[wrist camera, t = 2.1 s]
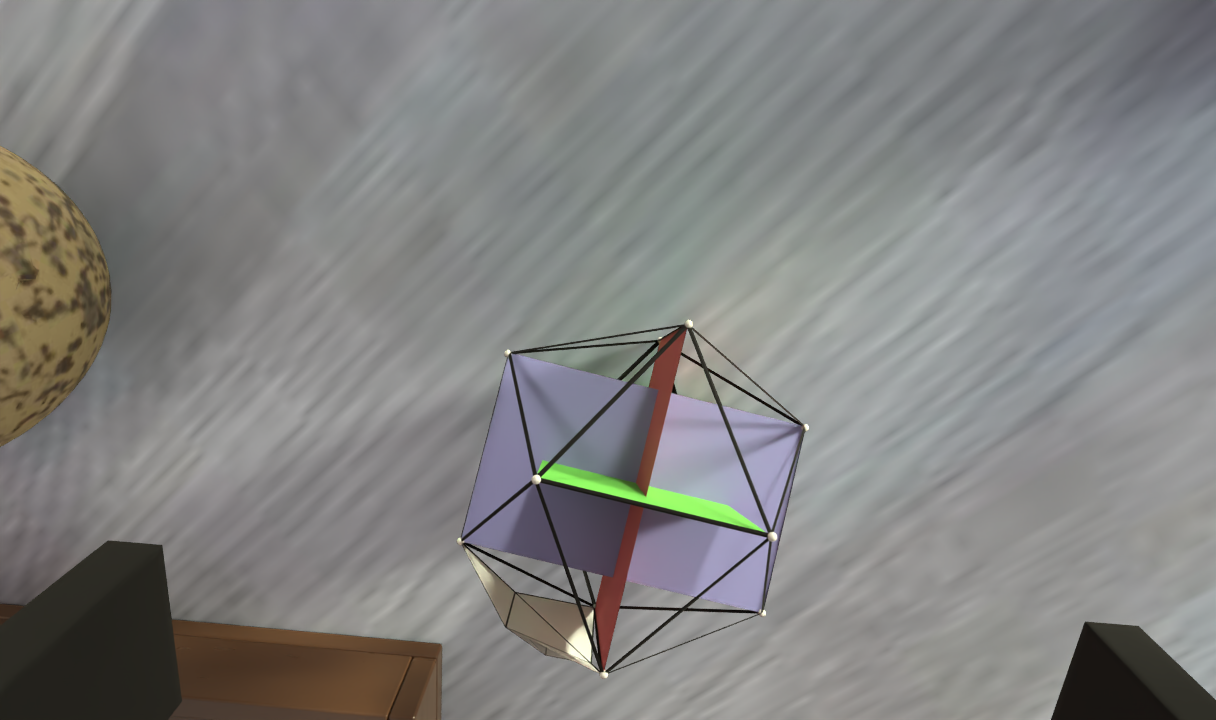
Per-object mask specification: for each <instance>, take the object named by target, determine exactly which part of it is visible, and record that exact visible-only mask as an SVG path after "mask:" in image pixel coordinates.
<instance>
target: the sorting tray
mask: <svg viewBox="0 0 1216 720" xmlns="http://www.w3.org/2000/svg"><path fill="white" fill-rule="evenodd" d="M23 607H24V606H19V605H9V604H0V625H2V624H3V623H4V622H5V621H7V620H8V619H9V618H10V617H12V616H13V615H14V614H16V613H17V612H18V611H19V610H21V609H22V608H23ZM172 626H173V634H174V642H175V649H176V657H177V665H178V673H179V681H180V689H181V696H182V702H181V704H180V705H179V706H178V707H177V709H176V710H175V711H174V713H173V714H172V715H171V716H170V718H169V719H168V720H441V696H442V645H441V644H436V643H425V642H414V641H403V640H392V639H381V638H370V637H359V636H348V635H337V634H326V633H315V632H304V631H293V630H282V629H271V628H261V627H250V626H239V625H228V624H217V623H206V622H195V621H184V620H173V619H172Z"/></svg>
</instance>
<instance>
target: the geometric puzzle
mask: <svg viewBox="0 0 1216 720" xmlns="http://www.w3.org/2000/svg"><path fill="white" fill-rule="evenodd" d="M692 326H693V323H692V321H691V320H687V321H686V322H685V324H684V325H677V326H671V327H665V328H658V329H652V330H646V331H640V332H633V333H627V334H621V335H614V336H608V337H602V338H596V339H589V340H583V341H577V342H570V343H564V344H558V345H552V346H545V347H539V348H533V349H526V350H520V351H514V352H511V351H509V350H507V351H505V353H504V355H505V356H506V357H507V360H506V364H505V368H504V372H503V376H502V379H501V383H500V387H499V391H498V395H497V399H496V403H495V407H494V411H493V414H492V418H491V422H490V426H489V430H488V434H487V438H486V442H485V446H484V450H483V453H482V457H481V461H480V465H479V469H478V473H477V477H476V481H475V485H474V489H473V492H472V496H471V500H470V504H469V508H468V512H467V516H466V520H465V524H464V527H463V531H462V535H461V538H458V539H457V544H458V545H462V546H463V548H464V550H465V552H466V554H467V556H468V557H469V559H470V561H471V563H472V565H473V567H474V569H475V571H476V573H477V575H478V576H479V578H480V580H481V582H482V584H483V586H484V588H485V590H486V592H487V594H488V595H489V597H490V599H491V601H492V603H493V605H494V607H495V609H496V611H497V613H498V615H499V616H500V618H501V620H502V622H503V624H504V626H505V627H506V628H507V629H509V630H510V631H511V632H513V633H514V634H516V635H517V636H519V637H520V638H521V639H523V640H524V641H526V642H527V643H529V644H530V645H532V646H533V647H534V648H536V649H537V650H539V651H540V652H542V653H543V654H544V655H546V656H552V657H557V658H562V659H567V660H572V661H575V662H577V663H579V664H581V665H583V666H585V667H587V668H589V669H591V670H593V671H595V672H597V673H599V674H600V677H601V678H602V679H606V678H607V677H608V673H611V672H613V671H616V670H619V669H621V668H624V667H626V666H629V665H631V664H634V663H637V662H639V661H642V660H644V659H647V658H649V657H652V656H655V655H657V654H660V653H662V652H665V651H667V650H670V649H672V648H670V649H667V650H665V651H662V652H660V653H657V654H655V655H652V656H649V657H647V658H644V659H642V660H639V661H637V662H634V663H631V664H629V665H626V666H624V667H621V668H619V669H616V670H613V671H611V670H612V669H613V668H614V667H616V666H617V665H618V664H619V663H620V662H622V661H623V660H624V659H625V658H627V657H628V656H629V655H630V654H631V653H633V652H634V651H635V650H636V649H638V648H639V647H640V646H641V645H642V644H644V643H645V642H646V641H647V640H649V639H650V638H651V637H652V636H653V635H655V634H656V633H657V632H658V631H660V630H661V629H662V628H663V627H664V626H666V625H667V624H668V623H669V622H671V621H672V620H673V619H674V618H675V617H677V616H678V615H679V614H680V613H681V612H683V611H700V612H728V613H757V615H759V616H761V617H764V616H765V614H766V612H765V610H764V606H765V602H766V598H767V593H768V589H769V585H770V580H771V576H772V572H773V567H774V563H775V559H776V554H777V550H778V546H779V541H780V537H781V533H782V528H783V524H784V520H785V515H786V511H787V506H788V502H789V498H790V493H791V489H792V485H793V480H794V476H795V472H796V467H797V463H798V459H799V454H800V450H801V446H802V441H803V437H804V433H805V432H806V431H808V430H809V427H808V425H806V424H804V425H803V424H802V423H801V422H800V421H799V420H798V419H797V418H795V417H794V416H793V415H792V414H791V413H790V412H789V411H787V410H786V409H785V408H784V407H783V406H782V405H781V404H779V403H778V402H777V401H776V400H775V399H774V398H773V397H771V396H770V395H769V394H768V393H767V392H766V391H765V390H763V389H762V388H761V387H760V386H759V385H758V384H757V383H755V382H754V381H753V380H752V379H751V378H750V377H749V376H747V375H746V374H745V373H744V372H743V371H742V370H741V369H739V368H738V367H737V366H736V365H735V364H734V363H733V362H731V361H730V360H729V359H728V358H727V357H726V356H724V355H723V354H722V353H721V352H720V351H719V350H718V349H716V348H715V347H714V346H713V345H712V344H711V343H710V342H708V341H707V340H706V339H705V338H704V337H703V336H702V335H700V334H699V333H698V332H697V331H696V330H695V329H694V328H692ZM676 327H679V328H678V329H676V330H674V331H673V332H671V333H669V334H667V335H666V336H664V337H659V338H658V340H652V341H640V342H627V343H615V344H603V345H590V346H578V347H566V348H553V349H543V348H549V347H556V346H562V345H568V344H575V343H581V342H587V341H594V340H600V339H606V338H613V337H619V336H625V335H632V334H638V333H644V332H651V331H657V330H663V329H670V328H676ZM687 329H688V331H689V334H690V336H691V339H692V341H693V344H694V346H695V349H696V351H697V354H698V357H699V359H700V362H701V364H700V363H699V362H697V361H695V360H693V359H692V358H690V357H688V356H687V355H685V354H683V353H682V352H681V351H682V347H683V343H684V339H685V335H686V331H687ZM692 330H693V331H695V332H696V333H697V334H698V335H699V336H700V337H701V338H703V339H704V340H705V341H706V342H707V343H708V344H709V345H711V346H712V347H713V348H714V349H715V350H716V351H717V352H719V353H720V354H721V355H722V356H723V357H724V358H726V359H727V360H728V361H729V362H730V363H731V364H732V365H734V366H735V367H736V368H737V369H738V370H739V371H740V372H742V373H743V374H744V375H745V376H746V377H747V378H748V379H750V380H751V381H752V382H753V383H754V384H755V385H757V386H758V387H759V388H760V389H761V390H762V391H763V392H765V393H766V394H767V395H768V396H769V397H770V398H771V399H773V400H774V401H775V402H776V403H777V404H778V405H779V406H781V407H782V408H783V409H784V410H785V411H786V412H787V413H789V414H790V415H791V416H792V417H793V418H794V419H796V420H797V421H796V420H794V419H793V418H791V417H789V416H788V415H786V414H784V413H783V412H781V411H779V410H778V409H776V408H774V407H773V406H771V405H769V404H768V403H766V402H764V401H762V400H761V399H759V398H757V397H756V396H754V395H752V394H751V393H749V392H747V391H746V390H744V389H742V388H741V387H739V386H737V385H736V384H734V383H732V382H731V381H729V380H727V379H725V378H724V377H722V376H720V375H719V374H717V373H715V372H714V371H712V370H710V369H709V368H707V366H706V364H705V361H704V359H703V356H702V353H701V351H700V348H699V346H698V343H697V341H696V338H695V336H694V333H693V331H692ZM651 342H656V343H655V344H654V345H652V346H651V347H650V348H649V349H648V350H647V351H646V352H645V353H644V354H643V355H642V356H641V357H640V358H639V359H638V360H637V361H636V362H635V363H634V364H633V365H632V366H631V367H630V368H629V369H627V370H626V371H625V372H624V373H623V374H622V375H621V376H620V377H619V378H618V379H613V378H609V377H605V376H601V375H597V374H593V373H589V372H585V371H581V370H577V369H573V368H569V367H565V366H561V365H557V364H553V363H549V362H545V361H541V360H537V359H533V358H529V357H525V356H521V355H517V354H519V353H531V352H543V351H555V350H567V349H579V348H591V347H603V346H615V345H627V344H639V343H651ZM658 345H659V347H658V351H657V353H656V354H655V355H654V356H653V357H652V358H651V359H650V360H649V361H648V362H647V363H646V364H645V365H644V366H643V367H642V368H641V369H640V370H639V371H638V372H637V373H636V374H635V375H634V376H633V377H632V378H631V380H630V381H629V382H625V381H621V380H622V379H624V378H625V377H626V376H627V375H628V374H629V373H630V372H631V371H632V370H633V369H634V368H635V367H636V366H637V365H638V364H639V363H640V362H641V361H642V360H643V359H644V358H645V357H647V356H648V355H649V354H650V353H651V352H652V351H653V350H654V349H655V348H656V347H657V346H658ZM537 349H541V350H537ZM681 355H682V356H684V357H685V358H687V359H689V360H690V361H692V362H694V363H695V364H697V365H699V366H700V367H702V368H703V369H704V372H705V374H706V377H707V379H708V382H709V385H710V387H711V390H712V392H713V395H714V397H715V400H716V402H717V404H713V403H709V402H705V401H701V400H697V399H693V398H689V397H685V396H681V395H677V392H676V389H675V385H674V380H675V376H676V372H677V368H678V364H679V360H680V356H681ZM654 362H655V363H654ZM653 363H654V367H653V372H652V376H651V380H650V384H649V387H645V386H641V385H637V384H633V383H634V382H635V381H636V380H637V379H638V378H639V377H640V376H641V375H642V374H643V373H644V372H645V371H646V370H647V369H648V368H649V367H650V366H651V365H652V364H653ZM709 372H710V373H712V374H714V375H715V376H717V377H719V378H720V379H722V380H724V381H725V382H727V383H729V384H730V385H732V386H734V387H736V388H737V389H739V390H741V391H742V392H744V393H746V394H747V395H749V396H751V397H752V398H754V399H756V400H757V401H759V402H761V403H762V404H764V405H766V406H767V407H769V408H771V409H772V410H774V411H776V412H777V413H779V414H781V415H782V416H784V417H786V418H787V419H789V420H791V421H793V422H794V423H796V424H793V423H789V422H785V421H781V420H777V419H773V418H769V417H765V416H761V415H757V414H753V413H749V412H745V411H741V410H737V409H733V408H729V407H725V406H722V404H721V402H720V399H719V396H718V394H717V391H716V389H715V386H714V384H713V381H712V379H711V376H710V374H709ZM797 424H798V425H797ZM471 544H474V545H478V546H482V547H486V548H491V549H495V550H499V551H503V552H507V553H512V554H516V555H520V556H524V557H528V558H533V559H537V560H541V561H545V562H549V563H554V564H558V565H562V566H564V568H565V571H566V574H567V577H568V580H569V583H570V586H571V589H572V592H573V594H574V595H573V594H571V593H569V592H567V591H565V590H563V589H561V588H559V587H557V586H554V585H552V584H550V583H548V582H546V581H544V580H542V579H540V578H538V577H536V576H534V575H532V574H530V573H528V572H526V571H524V570H522V569H520V568H518V567H516V566H514V565H512V564H510V563H508V562H506V561H504V560H502V559H500V558H498V557H495V556H493V555H491V554H489V553H487V552H485V551H483V550H481V549H479V548H477V547H475V546H473V545H471ZM466 545H467V546H469V547H471V548H473V549H475V550H477V551H479V552H481V553H483V554H485V555H487V556H489V557H491V558H493V559H495V560H497V561H499V562H502V563H504V564H506V565H508V566H510V567H512V568H514V569H516V570H518V571H520V572H522V573H524V574H526V575H528V576H530V577H532V578H534V579H536V580H538V581H540V582H542V583H545V584H547V585H549V586H551V587H553V588H555V589H557V590H559V591H561V592H563V593H565V594H567V595H569V596H571V597H573V598H575V600H576V603H577V604H575V603H570V602H565V601H559V600H554V599H549V598H544V597H539V596H533V595H528V594H523V593H518V592H515V591H514V590H513V589H512V588H511V587H510V586H509V585H507V584H506V583H505V582H504V581H503V580H502V579H501V578H500V577H499V576H498V575H497V574H496V573H495V572H494V571H493V570H491V569H490V568H489V567H488V566H487V565H486V564H485V563H484V562H483V561H482V560H481V559H480V558H479V557H478V556H477V555H475V554H474V553H473V552H472V551H471V550H470V549H469V548H468V547H467V546H466ZM568 567H571V568H575V569H579V570H583V573H584V577H585V580H586V583H587V587H588V590H589V593H590V597H591V600H592V604H591V603H589V602H587V601H585V600H583V599H581V598H579V597H578V595H577V592H576V589H575V586H574V584H573V581H572V578H571V575H570V572H569V569H568ZM586 571H587V572H592V573H596V574H600V575H603V576H602V581H601V585H600V589H599V593H598V597H597V601H596V602H595V599H594V595H593V592H592V589H591V585H590V582H589V579H588V575H587V572H586ZM626 581H629V582H634V583H638V584H642V585H646V586H651V587H655V588H659V589H663V590H667V591H672V592H676V593H680V594H684V595H688V596H693V597H695V598H694V599H692V600H691V601H690V602H689V603H688V604H686V605H685V606H684V607H683V608H663V607H633V606H620V603H621V599H622V595H623V591H624V587H625V583H626ZM699 598H701V599H705V600H709V601H714V602H718V603H722V604H726V605H731V606H735V607H739V608H743V609H747V610H723V609H693V608H688V607H689V606H690V605H691V604H692V603H694V602H695V601H696V600H697V599H699ZM580 601H581V602H583V603H585V604H587V605H590V606H585V605H581V604H580ZM591 606H592V607H591ZM619 609H643V610H672V611H678V612H677V613H675V614H674V615H673V616H672V617H671V618H669V619H668V620H667V621H666V622H664V623H663V624H662V625H661V626H660V627H658V628H657V629H656V630H655V631H654V632H652V633H651V634H650V635H649V636H647V637H646V638H645V639H644V640H643V641H641V642H640V643H639V644H638V645H636V646H635V647H634V648H633V649H632V650H630V651H629V652H628V653H627V654H626V655H624V656H623V657H622V658H621V659H619V660H618V661H617V662H616V663H615V664H613V665H612V666H611V667H610V668H608V669H607V670H605V665H606V661H607V657H608V653H609V649H610V645H611V641H612V636H613V632H614V628H615V624H616V620H617V616H618V612H619ZM757 615H755V616H757ZM752 617H754V616H752ZM752 617H750V618H752ZM747 619H749V618H747ZM747 619H745V620H747ZM594 620H595V629H596V639H597V648H598V653H597V650H596V647H595V644H594V641H593V634H594ZM742 621H744V620H742ZM742 621H739V622H742ZM739 622H737V623H739ZM737 623H734V624H737ZM734 624H732V625H734ZM729 626H731V625H729ZM729 626H727V627H729ZM724 628H726V627H724ZM724 628H721V629H724ZM721 629H719V630H721ZM719 630H716V631H719ZM716 631H714V632H716ZM711 633H713V632H711ZM711 633H709V634H711ZM706 635H708V634H706ZM706 635H703V636H706ZM703 636H701V637H703ZM701 637H698V638H701ZM698 638H696V639H698ZM696 639H693V640H696ZM693 640H691V641H693ZM688 642H690V641H688ZM688 642H685V643H688ZM685 643H683V644H685ZM683 644H680V645H683ZM680 645H678V646H680ZM678 646H675V647H678ZM675 647H673V648H675ZM592 651H593V652H594V655H595V658H596V661H597V663H598V666H599V669H600V671H599V670H598V669H597V668H596V667H595V666H594V665H593V664H592ZM609 671H611V672H609Z"/></svg>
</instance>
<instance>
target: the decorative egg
mask: <svg viewBox="0 0 1216 720" xmlns="http://www.w3.org/2000/svg"><path fill="white" fill-rule="evenodd" d="M110 312H111V284H110V275H109V271H108V267H107V263H106V259H105V257H104V254H103V251H102V249H101V246H100V243H99V241H98V239H97V237H96V235H95V233H94V231H93V229H92V228H91V226H90V225H89V223H88V221H87V220H86V218H85V217H84V215H83V214H82V212H81V211H80V210H79V209H78V207H77V206H76V205H75V204H74V202H73V201H72V200H71V199H70V198H69V197H68V196H67V195H66V194H65V193H64V192H63V191H62V190H61V189H60V188H59V187H58V186H57V185H56V184H55V183H54V182H53V181H52V180H50V179H49V178H48V177H47V176H45V175H44V174H43V173H42V172H41V171H39V170H38V169H37V168H35V167H34V166H32V165H31V164H29V163H28V162H27V161H25V160H24V159H22V158H21V157H19V156H17V155H16V154H14V153H12V152H10V151H8V150H7V149H5V148H3V147H1V146H0V447H1V446H3V445H5V444H6V443H8V442H10V441H12V440H13V439H15V438H17V437H18V436H20V435H22V434H23V433H25V432H26V431H28V430H29V429H31V428H32V427H33V426H35V425H36V424H37V423H38V422H40V421H41V420H42V419H43V418H45V417H46V416H47V415H49V414H50V413H51V412H52V411H53V410H54V409H55V408H56V407H58V406H59V405H60V404H61V403H62V402H63V401H64V399H65V398H66V397H67V396H68V395H69V394H70V393H71V392H72V391H73V390H74V389H75V387H76V386H77V385H78V383H79V382H80V381H81V380H82V378H83V377H84V376H85V374H86V373H87V371H88V370H89V368H90V367H91V365H92V363H93V362H94V360H95V358H96V356H97V354H98V352H99V350H100V348H101V346H102V343H103V340H104V337H105V334H106V331H107V327H108V324H109V319H110Z"/></svg>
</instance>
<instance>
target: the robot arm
mask: <svg viewBox="0 0 1216 720" xmlns="http://www.w3.org/2000/svg"><path fill="white" fill-rule="evenodd" d="M181 702H182V696H181V689H180V681H179V673H178V665H177V657H176V649H175V642H174V634H173V626H172V618H171V610H170V602H169V595H168V587H167V579H166V571H165V563H164V555H163V548H162V545H156V544H144V543H131V542H119V541H107V542H105V543H104V544H103V545H102V546H100V547H99V548H98V549H97V550H95V551H94V552H93V553H91V554H90V555H89V556H88V557H86V558H85V559H84V560H83V561H81V562H80V563H79V564H78V565H76V566H75V567H74V568H72V569H71V570H70V571H69V572H67V573H66V574H65V575H64V576H62V577H61V578H60V579H59V580H57V581H56V582H55V583H54V584H52V585H51V586H50V587H48V588H47V589H46V590H45V591H43V592H42V593H41V594H40V595H38V596H37V597H36V598H35V599H33V600H32V601H31V602H29V603H28V604H27V605H26V606H24V607H23V608H22V609H21V610H19V611H18V612H17V613H16V614H14V615H13V616H12V617H10V618H9V619H8V620H7V621H5V622H4V623H3V624H2V625H0V720H168V719H169V718H170V716H171V715H172V714H173V713H174V711H175V710H176V709H177V707H178V706H179V705H180V704H181ZM1051 720H1216V700H1215V699H1214V698H1213V697H1212V696H1211V695H1210V694H1209V693H1208V692H1207V691H1206V690H1205V689H1204V688H1203V687H1202V686H1201V685H1199V684H1198V683H1197V682H1196V681H1195V680H1194V679H1193V678H1192V677H1191V676H1190V675H1189V674H1188V673H1187V672H1186V671H1185V670H1184V669H1183V668H1182V667H1181V666H1180V665H1179V664H1178V663H1176V662H1175V661H1174V660H1173V659H1172V658H1171V657H1170V656H1169V655H1168V654H1167V653H1166V652H1165V651H1164V650H1163V649H1162V648H1161V647H1160V646H1159V645H1158V644H1157V643H1156V642H1154V641H1153V640H1152V639H1151V638H1150V637H1149V636H1148V635H1147V634H1146V633H1145V632H1144V631H1143V630H1142V629H1141V628H1140V627H1139V626H1131V625H1119V624H1107V623H1095V622H1085V623H1084V626H1083V629H1082V632H1081V635H1080V637H1079V640H1078V643H1077V646H1076V649H1075V652H1074V655H1073V658H1072V661H1071V663H1070V666H1069V669H1068V672H1067V675H1066V678H1065V681H1064V684H1063V687H1062V689H1061V692H1060V695H1059V698H1058V701H1057V704H1056V707H1055V710H1054V713H1053V715H1052V718H1051Z"/></svg>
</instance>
